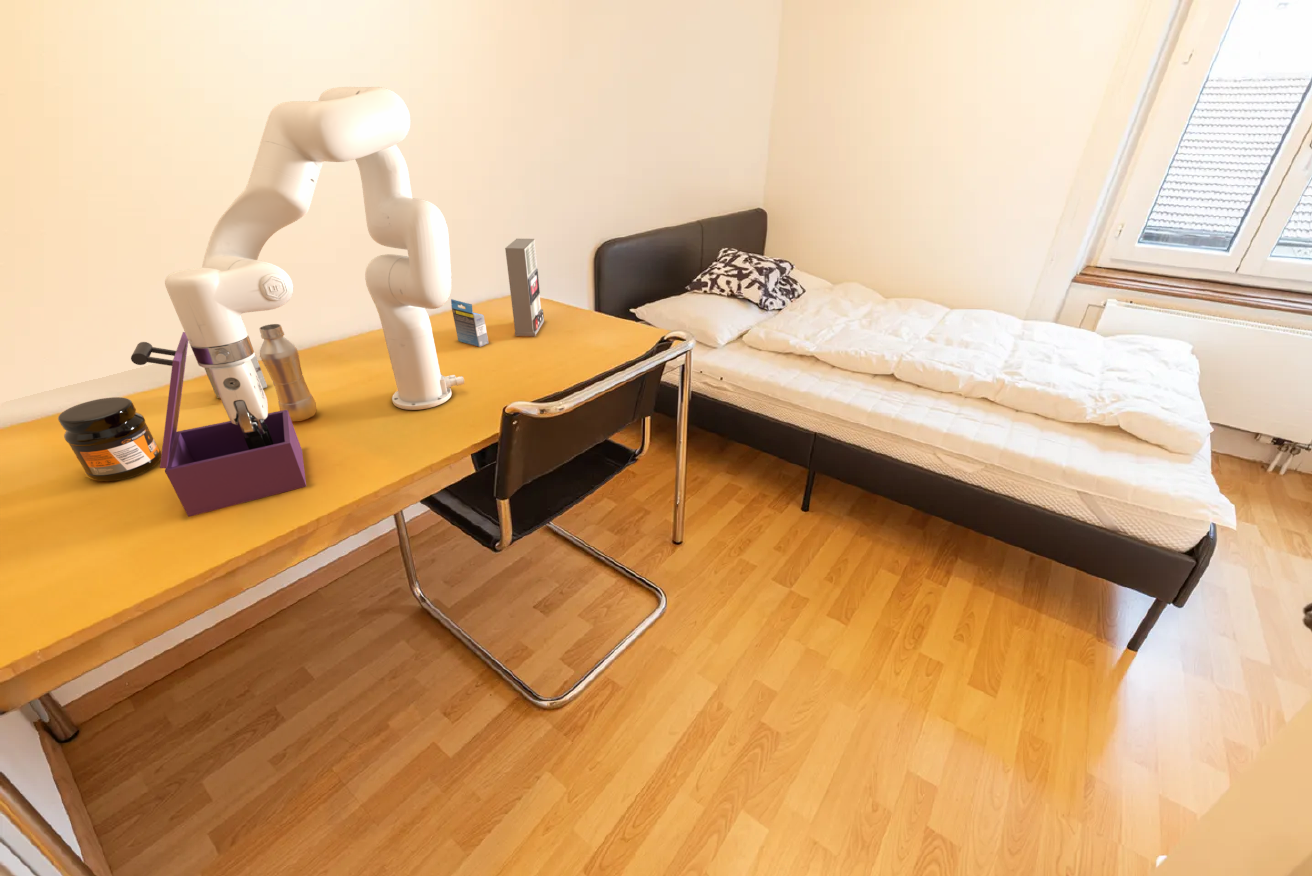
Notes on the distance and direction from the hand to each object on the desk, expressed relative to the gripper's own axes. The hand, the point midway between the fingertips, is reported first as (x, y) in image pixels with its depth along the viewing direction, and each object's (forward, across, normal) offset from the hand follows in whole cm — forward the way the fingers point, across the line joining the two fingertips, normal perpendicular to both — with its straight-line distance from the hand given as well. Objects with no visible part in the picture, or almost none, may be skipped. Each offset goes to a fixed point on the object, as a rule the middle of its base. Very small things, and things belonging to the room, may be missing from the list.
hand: (262, 449), depth 97 cm
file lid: (-12, 0, +8) cm, 14 cm away
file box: (+5, 0, +3) cm, 6 cm away
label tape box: (+5, +49, -49) cm, 70 cm away
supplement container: (+6, +16, +22) cm, 28 cm away
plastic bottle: (+5, +22, -6) cm, 23 cm away
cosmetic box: (+5, +43, +5) cm, 44 cm away
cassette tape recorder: (+5, +52, -68) cm, 85 cm away
